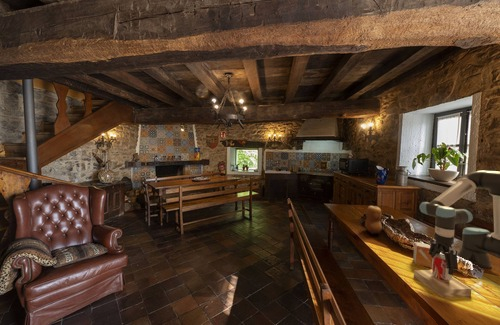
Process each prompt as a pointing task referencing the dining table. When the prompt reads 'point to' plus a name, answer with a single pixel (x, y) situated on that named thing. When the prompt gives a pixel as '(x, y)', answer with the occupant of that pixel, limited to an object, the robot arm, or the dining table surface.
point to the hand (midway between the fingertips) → (441, 273)
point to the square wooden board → (442, 284)
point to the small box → (422, 254)
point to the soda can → (439, 267)
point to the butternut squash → (373, 219)
